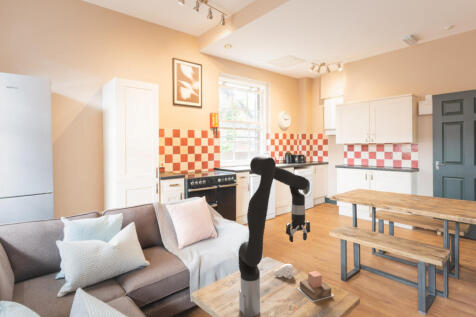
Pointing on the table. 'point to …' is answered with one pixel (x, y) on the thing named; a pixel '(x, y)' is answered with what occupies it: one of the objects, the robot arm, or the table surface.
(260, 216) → the robot arm
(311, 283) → the terracotta block
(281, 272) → the white speckled wedge
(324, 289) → the walnut plinth
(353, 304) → the table surface
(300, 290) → the grey flat square slab
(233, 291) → the table surface
